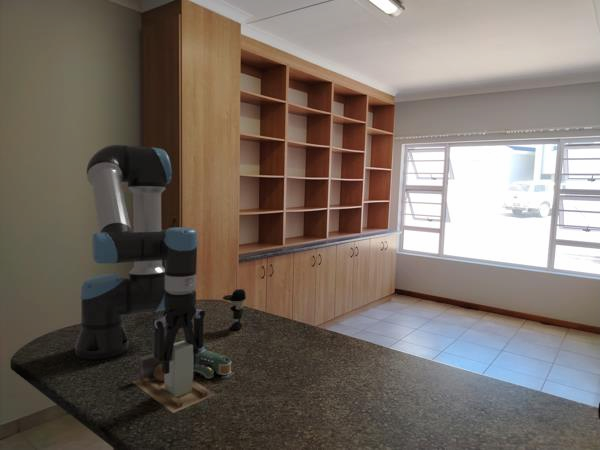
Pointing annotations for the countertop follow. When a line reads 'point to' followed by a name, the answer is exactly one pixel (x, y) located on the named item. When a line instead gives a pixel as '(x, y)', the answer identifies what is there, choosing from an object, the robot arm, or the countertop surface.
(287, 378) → the countertop surface
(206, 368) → the hoverbike
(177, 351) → the block
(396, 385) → the countertop surface
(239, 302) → the toy
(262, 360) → the countertop surface
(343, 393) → the countertop surface
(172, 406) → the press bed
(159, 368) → the walnut
